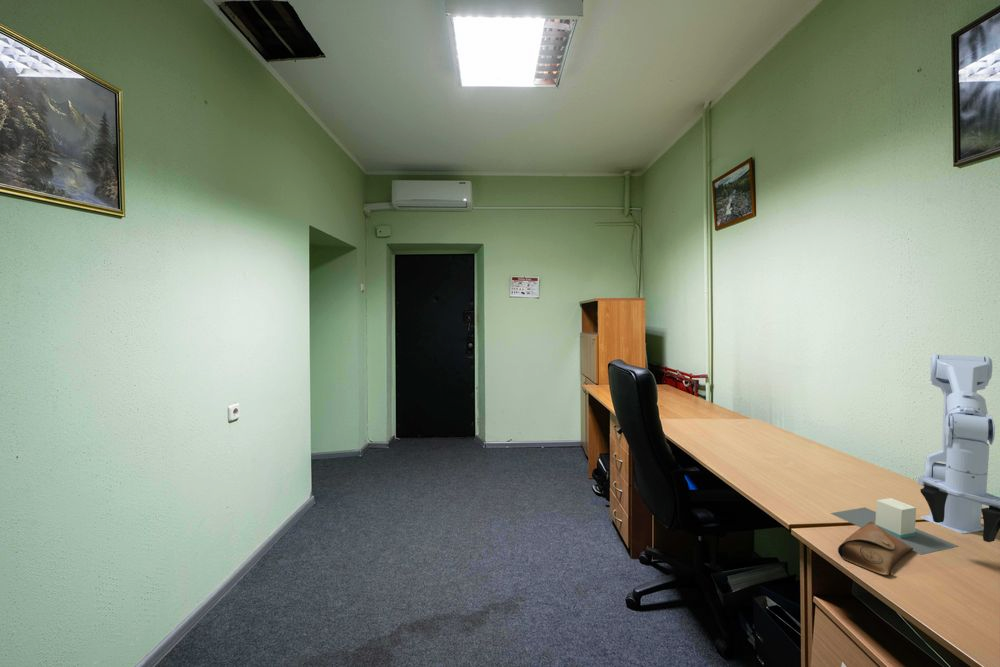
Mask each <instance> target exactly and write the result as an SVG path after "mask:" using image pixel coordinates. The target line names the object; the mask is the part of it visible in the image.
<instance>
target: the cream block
mask: <svg viewBox="0 0 1000 667" xmlns="http://www.w3.org/2000/svg"><path fill="white" fill-rule="evenodd" d="M875 505H876V507H875V512H876V521H875V524H876V525H877V526H878V527H880V528H881V529H883V530H885V531H886V532H888V533H889V534H891V535H894V536H896V537H898V538H905V537H910V536H915V528H916V517H917V516H916V515H917V507H915V506H913V505H910V504H908V503H905V502H902V501H899V500H897V499H895V498H892V497H889V498H882V499H876V504H875Z"/></svg>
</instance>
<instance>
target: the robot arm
mask: <svg viewBox="0 0 1000 667" xmlns="http://www.w3.org/2000/svg"><path fill="white" fill-rule="evenodd" d="M929 365H930V367H929V368H930V370H929V371H930V372H929V373H930V374H929V375H930V377H929V378H930V380H929V381H930V382H931V385H932V386H935V387H937V388H940V390H941V392H942V394H943V413H942V438H941V439H942V440H941V441H942V442H941V450H938V451H935V452H932V453H929V454H927V456H926V457H925V463H924V473H923V474H924V475H920V476H919V475H918V476H917V485H919V486H922V488H920V493H921V495H922V497H923V498H924V499H925V500H926V501H925V502H926V503H927V505H928V507H929V514H927V515H921V516H920V519H923V520H925V521H928V522H931V523H933V524H935V525H936V526H937V525H938V526H940V527H943V528H946V529H948V530H950V531H954V532H956V533H958V534H962V535H966V534H971V533H974V532H975V533H977V532H981V531H982V532H983V533H982V540H983V541H984V542H987V543H993V542H995V540H996V537H997V534H998V533H999V531H1000V497H999V496H996V495H994V494H991V493H988V492H987V489H988V475H989V474H988V473H989V459H990V458H989V456H990V445H991V446H992V445H993V443H994V441H995V438H996V424H995V421H994V419H993V416H992V415H991V414H988V408H987V403H986V402H987V401H986V399H985V397H984V396H982V395H981V394H979V393H977V391H982V390H985V389H986V388H987V386H988V384H989V383H990V381H991V379H992V376H993V360H992V358H991V357H990V356H986V355H985V356H976V355H975V356H973V355H955V354H954V355H952V354H938V353H934V354H932V355H931V356H930V364H929ZM988 443H989V444H988ZM940 462H941V463H940ZM983 505H984V506H987V507H983ZM982 519H983V521H982ZM982 522H983V526H982Z"/></svg>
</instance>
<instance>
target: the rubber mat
mask: <svg viewBox="0 0 1000 667" xmlns="http://www.w3.org/2000/svg"><path fill="white" fill-rule="evenodd" d="M830 514H831V515H833V516H835V517H837V518H839V519H842V520H844V521H847V522H848V523H850V524H852V525H854V526H857V527H858V528H861V527H863V526H865V525H867V524H868V523H869V522H871V521H873V522H874V523H875V521H876V510H872V509H869V508H867V507H865V506H864V507H859V508H853V509H847V510H846V509H845V510H843V511H842V510H841V511H836V512H831V513H830ZM893 536H894V535H893ZM894 537H896V536H894ZM896 538H897V539H899V540H900V541H902V542H904V543H905V544H907V545H909V546H910V547H912V548H914V549H913V550H911V551H912V552H913V553H916V554H918V555H921V556H922V555H927V554H930V553H935V552H939V551H944V550H948V549H953V548H957V547H959V545H957V544H955V543H952V542H951V541H949V540H946V539H943V538H940V537H938V536H935V535H933V534H931V533H929V532H925V531H923V530H921V529H919V528H916V527H915V536H910V537H905V538H898V537H896ZM911 551H910V552H911Z"/></svg>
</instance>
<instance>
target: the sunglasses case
mask: <svg viewBox="0 0 1000 667" xmlns="http://www.w3.org/2000/svg"><path fill="white" fill-rule="evenodd" d="M913 549H914V548H912V547H910V546H909V545H907V544H905V543H904V542H902V541H900V540H899V539H897V538H896V537H894V536H893V535H891V534H889V533H888V532H886V531H885V530H883V529H881V528H880V527H878V526H877V525H876V524H875V523H874V522H873V521H871V522H869V523H868V524H867V525H865V526H863V527H859V529H858V530H856V531H855V532H853V533H851V534H850V535H849V537H847V538H846V539H844V541H843V542H842V543H841V544H840V545H839V546H838V548H837V554H839V556H840V557H841V559H842V560H845V562H846V561H847V562H848V563H851V564H853V565H855V566H858V567H860V568H862V569H865V570H868V571H870V572H873V573H876V574H879V575H882V576H889V575H890V572H891V571H892V568H893V567H894V566H895V565H896V563H898V561H900V560H901V559H902V558H904V556H906V555H907V554H909V553H910V552H911V550H913Z"/></svg>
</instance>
